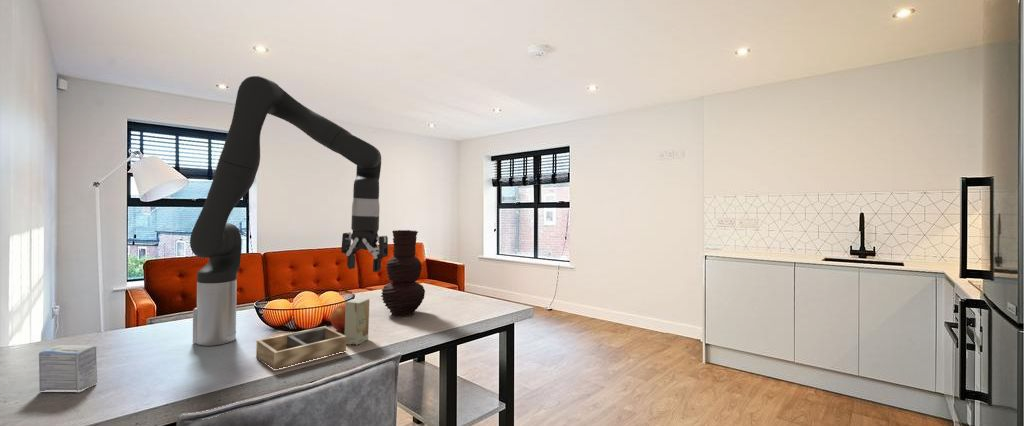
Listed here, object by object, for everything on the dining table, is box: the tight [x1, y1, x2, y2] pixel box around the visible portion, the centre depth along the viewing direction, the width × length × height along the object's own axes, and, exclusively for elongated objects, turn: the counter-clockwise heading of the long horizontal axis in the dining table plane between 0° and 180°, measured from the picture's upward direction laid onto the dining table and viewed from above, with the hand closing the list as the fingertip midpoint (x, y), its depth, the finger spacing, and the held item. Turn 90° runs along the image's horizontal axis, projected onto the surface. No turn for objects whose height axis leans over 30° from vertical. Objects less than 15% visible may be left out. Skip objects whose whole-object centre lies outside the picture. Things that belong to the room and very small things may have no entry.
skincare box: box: [344, 297, 370, 346], centre depth 126 cm, size 6×4×12 cm
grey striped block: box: [38, 344, 98, 392], centre depth 91 cm, size 8×4×9 cm, turn 92°
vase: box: [380, 229, 426, 318], centre depth 156 cm, size 15×15×30 cm
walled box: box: [255, 325, 347, 369], centre depth 114 cm, size 18×12×4 cm, turn 139°
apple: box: [329, 303, 346, 332], centre depth 135 cm, size 8×8×8 cm
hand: (363, 270), depth 125 cm, fingers open, 8 cm apart
